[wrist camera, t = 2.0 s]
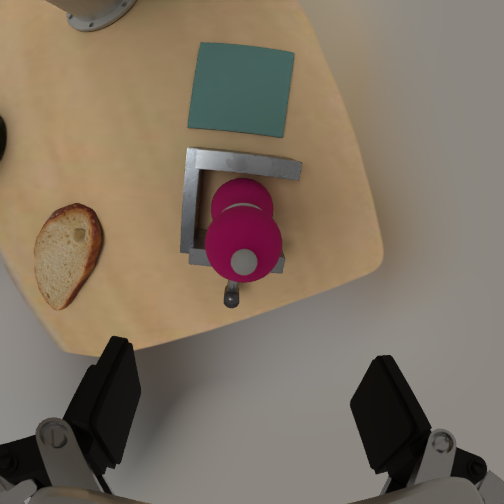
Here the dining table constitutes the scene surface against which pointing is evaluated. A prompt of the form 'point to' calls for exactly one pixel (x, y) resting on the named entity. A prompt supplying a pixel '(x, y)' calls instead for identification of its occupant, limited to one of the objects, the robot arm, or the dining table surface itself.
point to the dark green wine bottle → (2, 137)
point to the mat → (241, 89)
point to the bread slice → (66, 253)
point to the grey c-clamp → (192, 190)
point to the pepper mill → (243, 232)
